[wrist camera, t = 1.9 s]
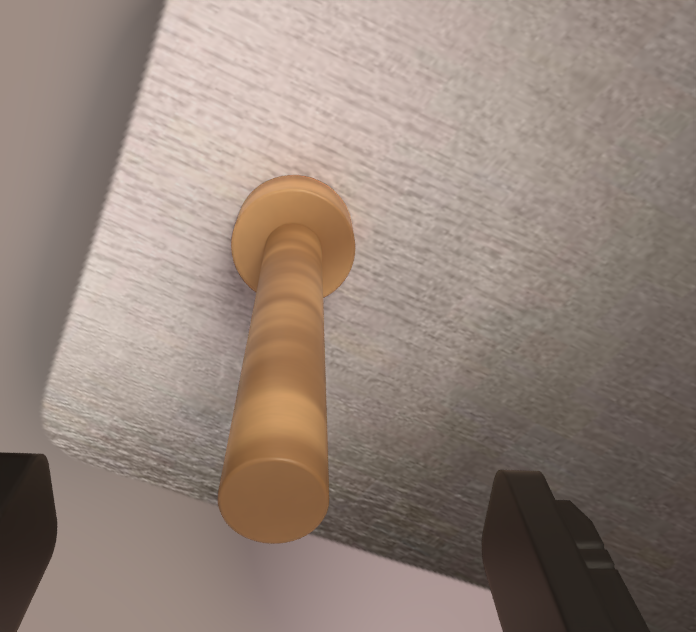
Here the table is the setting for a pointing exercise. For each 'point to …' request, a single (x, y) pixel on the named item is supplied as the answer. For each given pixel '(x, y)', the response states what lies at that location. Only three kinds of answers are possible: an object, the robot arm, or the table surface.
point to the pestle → (284, 358)
